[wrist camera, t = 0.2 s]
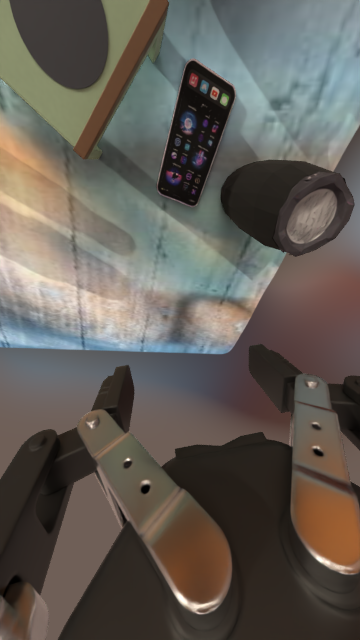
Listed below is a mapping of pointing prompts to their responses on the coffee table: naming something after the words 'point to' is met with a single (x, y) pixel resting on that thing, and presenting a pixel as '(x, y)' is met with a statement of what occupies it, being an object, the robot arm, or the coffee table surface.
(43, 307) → the coffee table surface
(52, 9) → the green footstool with circle
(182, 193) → the smartphone
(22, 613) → the robot arm
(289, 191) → the portable speaker
